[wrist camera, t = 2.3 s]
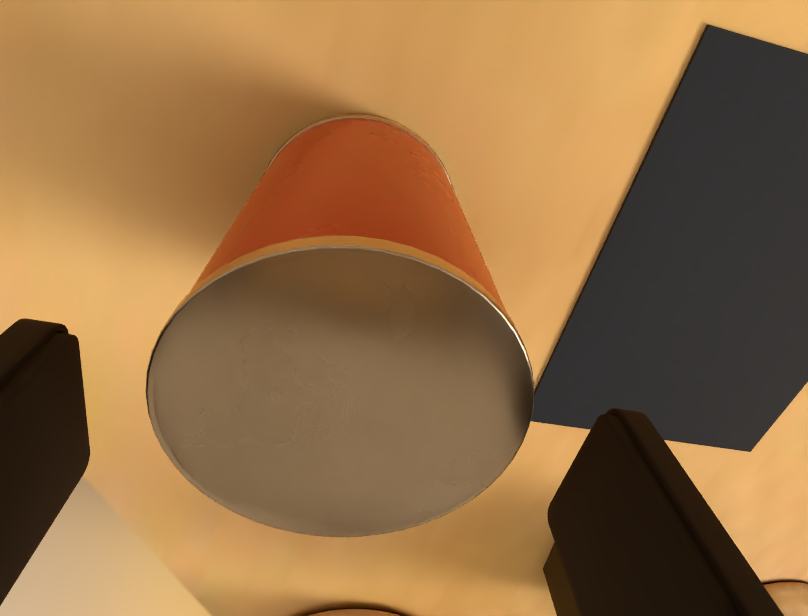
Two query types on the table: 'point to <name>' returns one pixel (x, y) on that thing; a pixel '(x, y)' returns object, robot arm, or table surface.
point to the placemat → (702, 262)
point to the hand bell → (790, 597)
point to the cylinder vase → (354, 613)
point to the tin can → (343, 345)
